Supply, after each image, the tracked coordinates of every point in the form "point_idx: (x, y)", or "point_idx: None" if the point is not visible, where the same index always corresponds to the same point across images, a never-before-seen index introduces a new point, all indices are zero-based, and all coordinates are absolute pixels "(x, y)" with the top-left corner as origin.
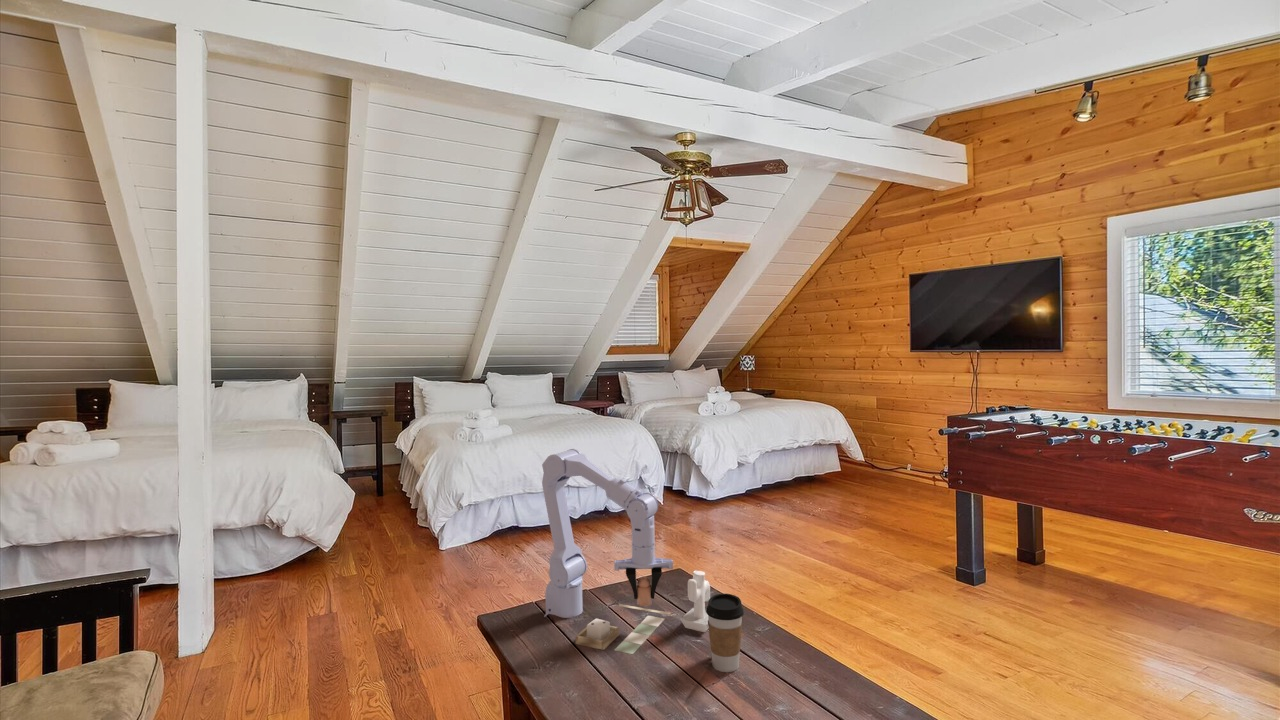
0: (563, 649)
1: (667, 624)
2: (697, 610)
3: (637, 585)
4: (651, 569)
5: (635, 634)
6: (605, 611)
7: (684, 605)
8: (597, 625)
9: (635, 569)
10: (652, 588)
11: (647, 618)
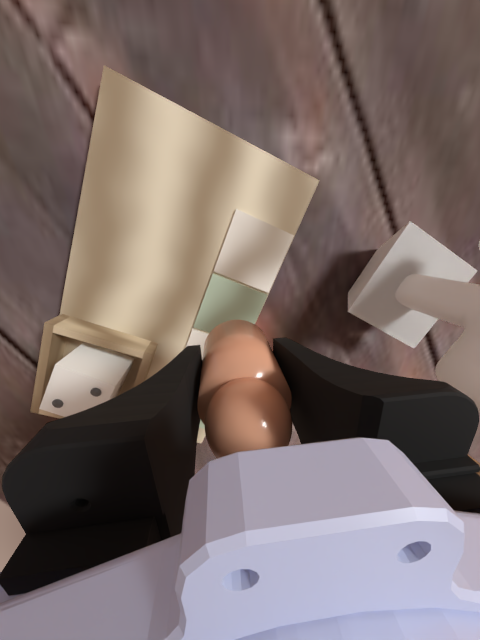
0: (22, 393)
1: (296, 243)
2: (424, 313)
3: (201, 400)
4: (349, 429)
5: (204, 342)
6: (57, 119)
7: (377, 66)
8: (79, 410)
9: (166, 532)
10: (295, 421)
11: (235, 233)
